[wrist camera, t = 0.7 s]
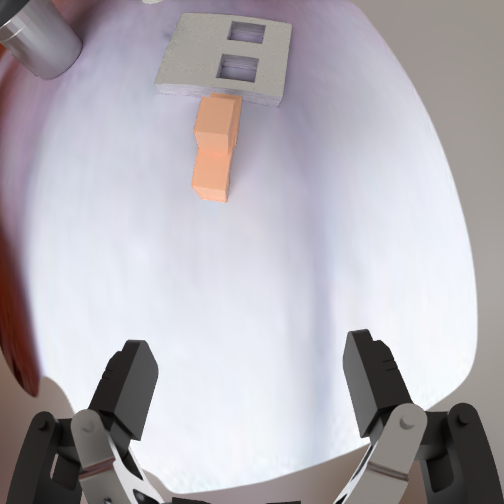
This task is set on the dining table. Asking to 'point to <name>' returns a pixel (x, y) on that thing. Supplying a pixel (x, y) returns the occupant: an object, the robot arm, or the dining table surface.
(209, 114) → the clip
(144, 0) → the chalice
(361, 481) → the robot arm
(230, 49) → the plate
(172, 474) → the dining table surface
